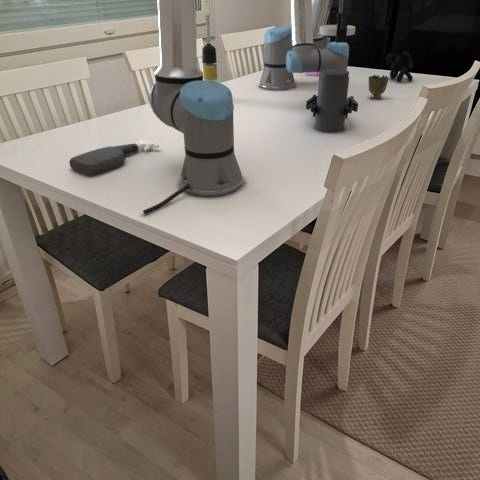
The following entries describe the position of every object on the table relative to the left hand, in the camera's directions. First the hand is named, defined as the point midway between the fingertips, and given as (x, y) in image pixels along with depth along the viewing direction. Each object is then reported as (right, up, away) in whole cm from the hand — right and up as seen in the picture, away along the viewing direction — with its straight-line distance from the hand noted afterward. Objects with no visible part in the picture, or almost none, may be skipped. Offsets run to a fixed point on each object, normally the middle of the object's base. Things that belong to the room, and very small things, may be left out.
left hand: (336, 39), depth 130 cm
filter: (-39, -2, +49) cm, 63 cm away
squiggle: (+44, +14, +71) cm, 85 cm away
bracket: (+10, +23, +87) cm, 90 cm away
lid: (0, +3, -2) cm, 3 cm away
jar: (+1, -22, +16) cm, 27 cm away
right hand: (0, -19, +9) cm, 21 cm away
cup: (+25, -3, +46) cm, 52 cm away
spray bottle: (-62, -36, -5) cm, 72 cm away
